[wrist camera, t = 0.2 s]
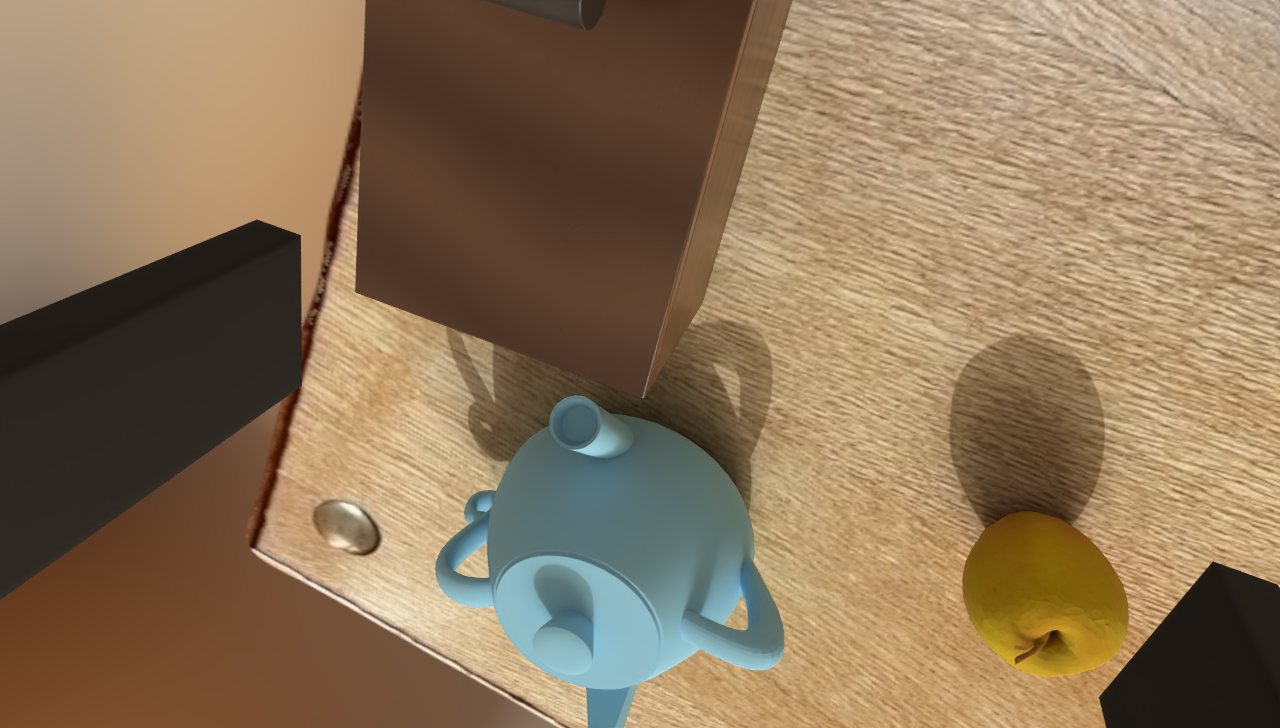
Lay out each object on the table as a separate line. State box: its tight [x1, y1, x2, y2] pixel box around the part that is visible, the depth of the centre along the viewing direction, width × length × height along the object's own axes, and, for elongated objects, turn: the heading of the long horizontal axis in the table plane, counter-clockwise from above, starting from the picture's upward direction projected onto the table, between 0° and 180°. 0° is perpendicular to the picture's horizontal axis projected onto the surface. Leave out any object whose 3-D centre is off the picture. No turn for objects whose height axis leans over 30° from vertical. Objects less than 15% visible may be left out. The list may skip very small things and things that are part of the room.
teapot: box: [435, 395, 784, 728], centre depth 40 cm, size 15×17×11 cm
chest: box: [650, 0, 792, 388], centre depth 31 cm, size 16×13×9 cm
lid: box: [355, 0, 757, 399], centre depth 25 cm, size 16×13×6 cm
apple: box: [962, 511, 1129, 676], centre depth 35 cm, size 6×6×8 cm
